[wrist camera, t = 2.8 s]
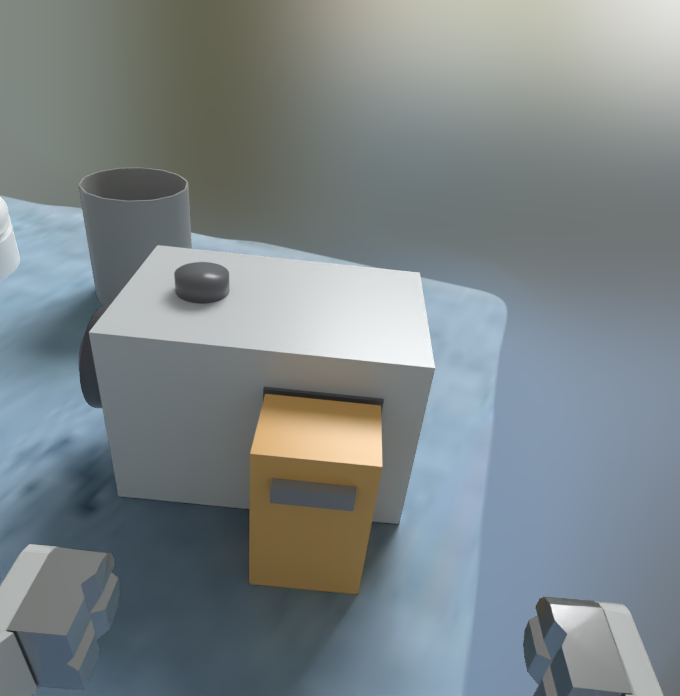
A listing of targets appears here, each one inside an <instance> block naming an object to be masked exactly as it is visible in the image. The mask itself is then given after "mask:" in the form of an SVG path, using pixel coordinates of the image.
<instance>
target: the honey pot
mask: <svg viewBox="0 0 680 696" xmlns="http://www.w3.org/2000/svg"><path fill="white" fill-rule="evenodd" d="M19 263H20V257H19V252H18V248H17V243H16V239H15V235H14V231H13V227H12V224H11V223H10V216H9V215H8V207H7V205H6V203H5V201H4V200H3V199H2V198H1V197H0V281H1V280H3V279H5V278H6V277H8V276H9V275H10V274H11V273H13V272H14V271H15V270H16V268H17V267H18V265H19Z"/></svg>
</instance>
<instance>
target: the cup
mask: <svg viewBox="0 0 680 696" xmlns="http://www.w3.org/2000/svg"><path fill="white" fill-rule="evenodd" d="M78 186H79V192H80V198H81V204H82V211H83V217H84V223H85V229H86V235H87V241H88V247H89V253H90V259H91V265H92V271H93V277H94V283H95V289H96V295H97V298H98V299H99V301H100V303H101V304H102V306H103V305H106V304H109V305H111V303H112V302H113V301H114V300H115V298H116V297H117V296H118V295H119V293H120V292H121V291H122V289H123V288H124V287H125V286H126V284H127V283H128V282H129V281H130V279H131V278H132V277H133V276H134V274H135V273H136V272H137V270H138V269H139V268H140V267H141V265H142V264H143V263H144V262H145V260H146V259H147V258H148V257H149V255H150V254H151V253H152V251H153V250H154V249H155V248H156V246H157V245H161V246H170V247H180V248H189V249H192V244H191V226H190V209H189V191H188V181H186V180H185V179H184V178H183V177H181V176H180V175H178V174H175V173H171V172H168V171H164V170H157V169H149V168H116V169H110V170H104V171H98V172H96V173H93V174H91V175H88V176H86V177H84V178H83V179H82V180H81V182H80V183H79V185H78Z"/></svg>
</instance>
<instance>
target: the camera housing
mask: <svg viewBox="0 0 680 696" xmlns="http://www.w3.org/2000/svg"><path fill="white" fill-rule="evenodd" d="M434 370H435V365H434V359H433V352H432V346H431V340H430V334H429V328H428V321H427V315H426V309H425V303H424V297H423V290H422V284H421V278H420V273H417V272H408V271H398V270H389V269H379V268H370V267H360V266H351V265H341V264H332V263H322V262H313V261H303V260H294V259H284V258H275V257H265V256H256V255H246V254H237V253H227V252H218V251H208V250H199V249H189V248H180V247H170V246H161V245H157V246H156V248H155V249H154V250H153V251H152V253H151V254H150V255H149V257H148V258H147V259H146V260H145V262H144V263H143V264H142V265H141V267H140V268H139V269H138V270H137V272H136V273H135V274H134V276H133V277H132V278H131V279H130V281H129V282H128V283H127V284H126V286H125V287H124V288H123V289H122V291H121V292H120V293H119V295H118V296H117V297H116V298H115V300H114V301H113V302H112V303H111V305H109V304H106V305H103V306H101V307H100V308H98V309H97V310H96V312H95V313H94V314H93V316H92V318H91V320H90V322H89V324H88V326H87V329H86V332H85V335H84V337H83V340H82V343H81V347H80V352H79V372H80V383H81V389H82V393H83V395H84V398H85V400H86V402H87V403H88V404H89V405H90V406H92V407H95V408H103V414H104V419H105V425H106V430H107V436H108V441H109V447H110V452H111V458H112V463H113V469H114V474H115V480H116V485H117V491H118V496H122V497H132V498H142V499H152V500H162V501H172V502H182V503H192V504H202V505H212V506H222V507H232V508H242V509H250V452H251V448H252V444H253V440H254V436H255V432H256V428H257V424H258V420H259V416H260V412H261V408H262V404H263V400H264V396H265V394H273V395H283V396H293V397H302V398H312V399H322V400H332V401H341V402H351V403H361V404H371V405H381V424H382V472H381V477H380V483H379V488H378V493H377V499H376V504H375V509H374V514H373V520H372V521H373V522H383V523H393V524H399V523H400V518H401V514H402V510H403V505H404V501H405V497H406V492H407V488H408V484H409V479H410V475H411V471H412V466H413V462H414V457H415V453H416V449H417V444H418V440H419V436H420V431H421V427H422V423H423V418H424V414H425V410H426V405H427V401H428V396H429V392H430V388H431V383H432V379H433V375H434Z"/></svg>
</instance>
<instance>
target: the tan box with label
mask: <svg viewBox="0 0 680 696" xmlns="http://www.w3.org/2000/svg"><path fill="white" fill-rule="evenodd" d="M381 472H382V424H381V405H371V404H361V403H351V402H341V401H332V400H322V399H312V398H302V397H293V396H283V395H273V394H265V396H264V400H263V404H262V408H261V412H260V416H259V420H258V424H257V428H256V432H255V436H254V440H253V444H252V448H251V452H250V533H249V584H255V585H265V586H275V587H285V588H296V589H306V590H316V591H326V592H336V593H347V594H357V595H358V594H359V589H360V583H361V578H362V573H363V567H364V562H365V557H366V552H367V546H368V541H369V536H370V530H371V525H372V520H373V514H374V509H375V504H376V499H377V493H378V488H379V483H380V477H381Z"/></svg>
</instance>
